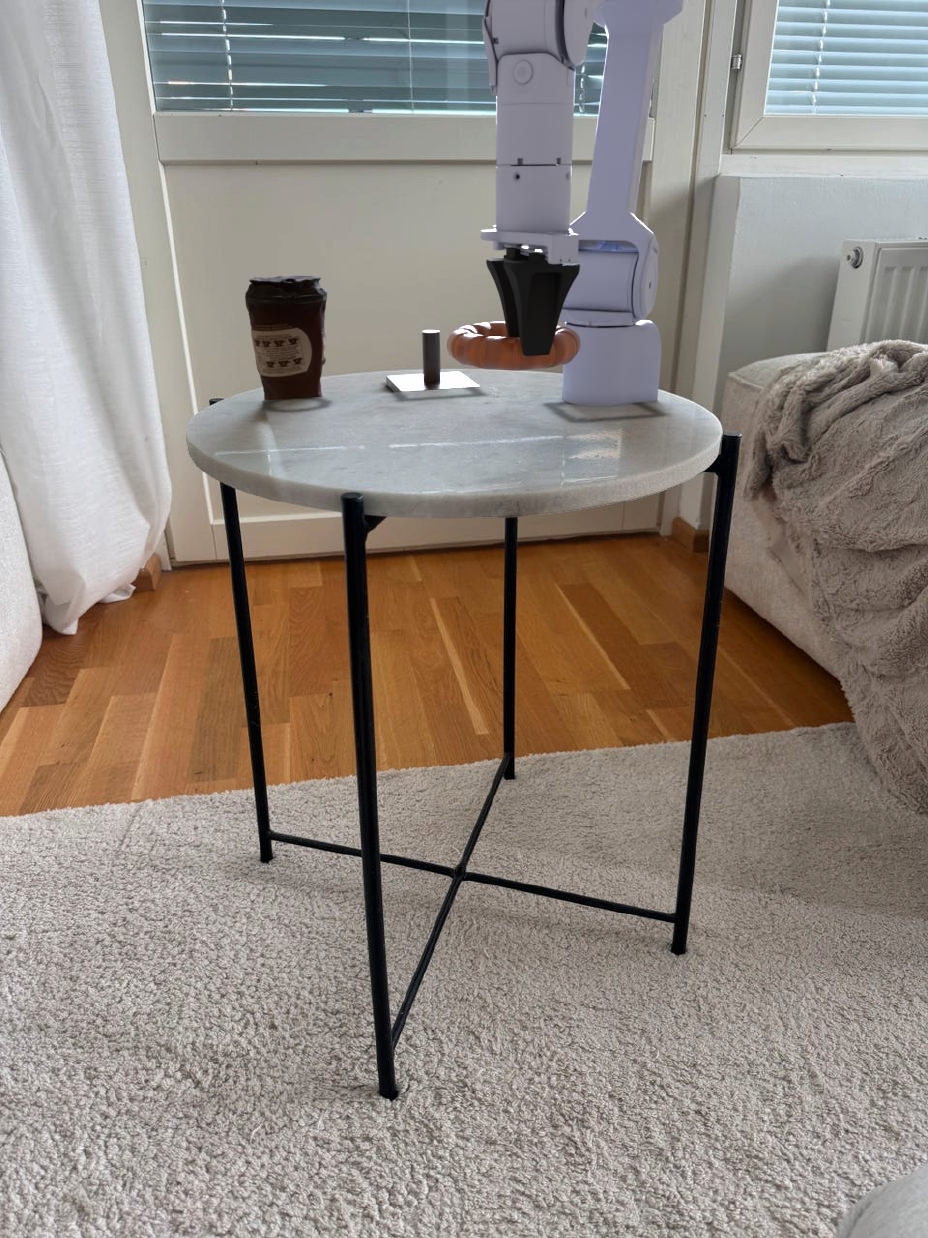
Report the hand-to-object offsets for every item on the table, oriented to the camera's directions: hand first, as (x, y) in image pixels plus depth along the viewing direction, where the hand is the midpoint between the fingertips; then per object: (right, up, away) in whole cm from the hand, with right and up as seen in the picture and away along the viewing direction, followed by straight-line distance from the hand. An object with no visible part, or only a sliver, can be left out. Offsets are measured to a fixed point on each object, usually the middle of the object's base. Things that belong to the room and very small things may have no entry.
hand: (529, 351), depth 75 cm
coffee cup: (-24, +1, +24) cm, 34 cm away
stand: (-9, +5, +30) cm, 32 cm away
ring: (-1, +2, +4) cm, 4 cm away
